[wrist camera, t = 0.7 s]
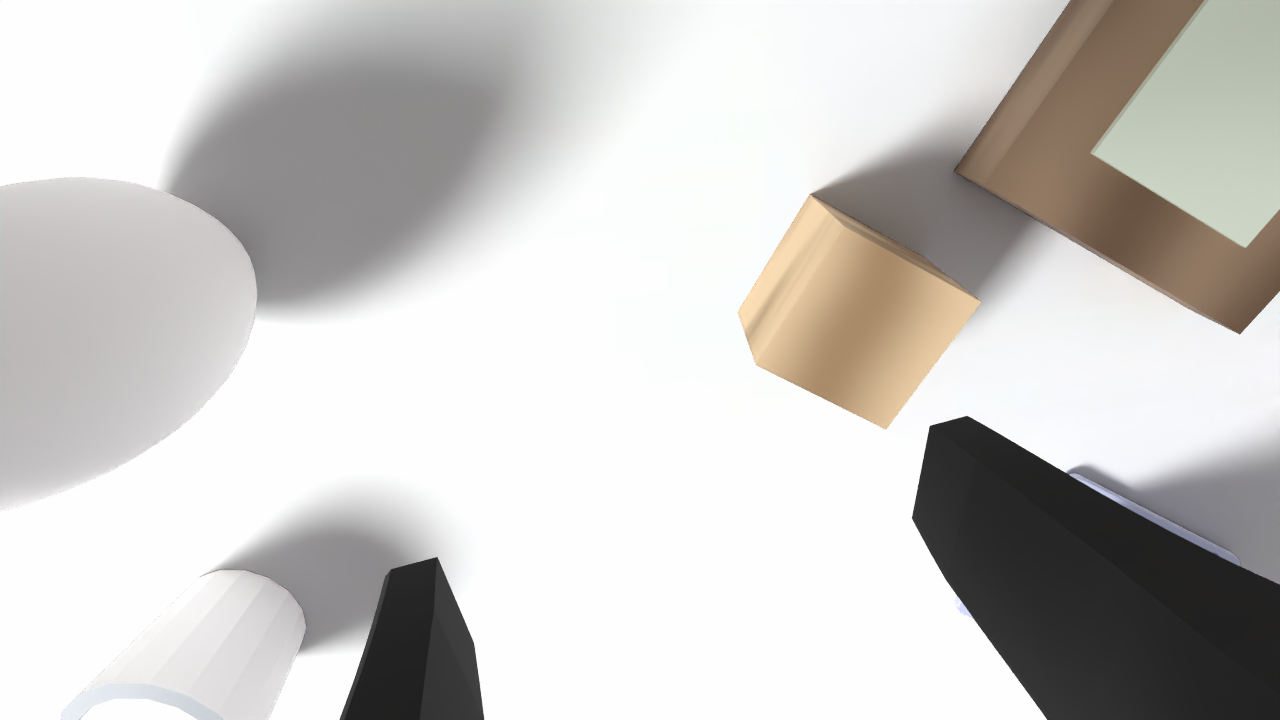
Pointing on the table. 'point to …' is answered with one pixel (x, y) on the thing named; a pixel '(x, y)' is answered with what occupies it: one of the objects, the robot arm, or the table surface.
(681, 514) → the table surface
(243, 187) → the table surface
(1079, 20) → the walnut base
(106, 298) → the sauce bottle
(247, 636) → the white cup
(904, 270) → the oak cube
